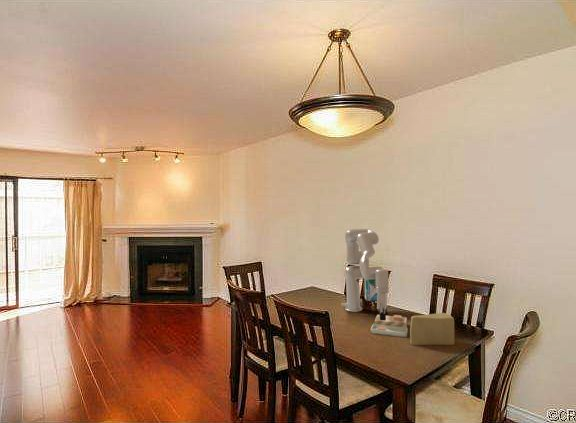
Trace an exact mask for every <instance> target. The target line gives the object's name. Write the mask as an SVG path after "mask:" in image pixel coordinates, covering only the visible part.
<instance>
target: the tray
mask: <svg viewBox="0 0 576 423" xmlns="http://www.w3.org/2000/svg"><path fill="white" fill-rule="evenodd" d="M378 326H383V327H386V331H385V330H377V328H378ZM408 330H409V328H408V326H407V327H399V326H389V325H379V324H375V323H372V325H371V327H370V334H373V335H382V336H391V337H399V338H408V333H409V332H408Z"/></svg>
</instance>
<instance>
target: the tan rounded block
mask: <svg viewBox="0 0 576 423" xmlns="http://www.w3.org/2000/svg"><path fill="white" fill-rule="evenodd" d="M409 338H410V339H409V340H410V341H409V343H410V345H411V346H424V345H425V346H429V345H432V346H433V345H437V346H438V345H440V346H445V345H446V346H453V345H455V318H454V317H453V316H451V315H450V314H448V313H445V312H439V313H429V314H420V315H419V314H418V315H413V316H411V317H410V329H409Z"/></svg>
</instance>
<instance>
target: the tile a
mask: <svg viewBox="0 0 576 423" xmlns="http://www.w3.org/2000/svg"><path fill="white" fill-rule="evenodd" d="M377 330H385V331H386V327H383V326H378V328H377Z"/></svg>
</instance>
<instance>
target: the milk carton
mask: <svg viewBox="0 0 576 423" xmlns="http://www.w3.org/2000/svg"><path fill="white" fill-rule="evenodd" d="M363 281H364V299H365V301H367V302H377V292H376V279H370V280H367V279H363Z"/></svg>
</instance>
